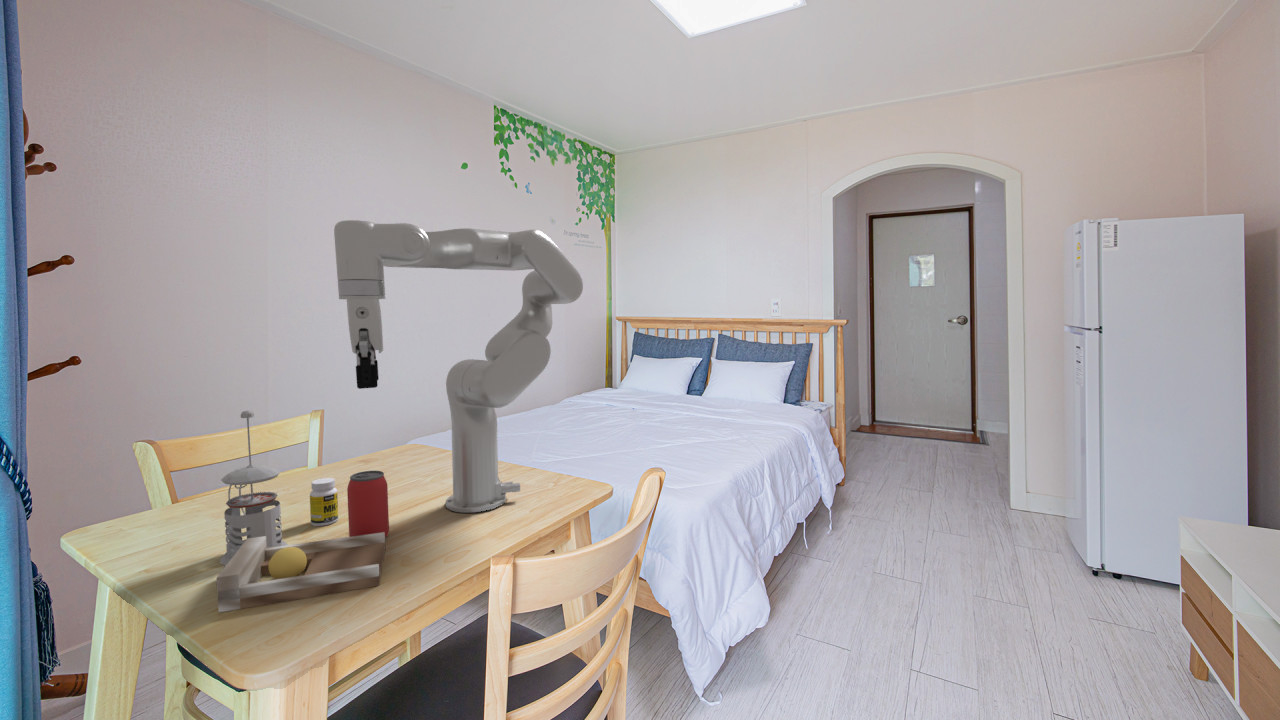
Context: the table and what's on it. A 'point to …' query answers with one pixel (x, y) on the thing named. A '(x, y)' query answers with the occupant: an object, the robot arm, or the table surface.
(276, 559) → the ball
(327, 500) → the supplement bottle
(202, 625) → the table surface
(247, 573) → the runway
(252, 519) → the french press
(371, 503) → the beer can
